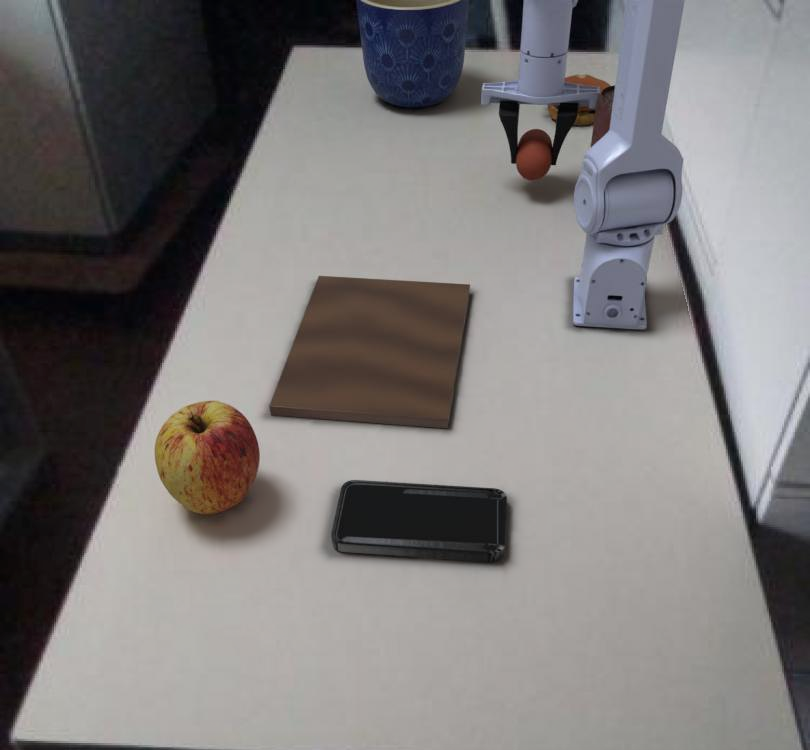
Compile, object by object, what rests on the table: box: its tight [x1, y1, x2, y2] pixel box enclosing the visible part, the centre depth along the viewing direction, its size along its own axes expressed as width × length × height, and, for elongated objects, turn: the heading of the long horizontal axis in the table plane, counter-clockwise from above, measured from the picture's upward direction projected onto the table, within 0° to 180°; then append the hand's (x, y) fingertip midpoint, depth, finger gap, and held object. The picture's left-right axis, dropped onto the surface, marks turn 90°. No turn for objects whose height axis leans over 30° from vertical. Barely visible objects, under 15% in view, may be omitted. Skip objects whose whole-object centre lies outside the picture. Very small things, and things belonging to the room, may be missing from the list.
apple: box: [154, 400, 261, 515], centre depth 75 cm, size 9×9×10 cm
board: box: [268, 275, 471, 429], centre depth 93 cm, size 24×18×1 cm
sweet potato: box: [515, 128, 553, 182], centre depth 113 cm, size 9×5×5 cm, turn 172°
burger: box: [547, 74, 612, 126], centre depth 130 cm, size 10×9×5 cm
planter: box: [355, 0, 470, 109], centre depth 131 cm, size 17×17×15 cm
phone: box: [330, 479, 508, 563], centre depth 75 cm, size 8×1×15 cm
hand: (534, 161), depth 113 cm, fingers closed on sweet potato, 4 cm apart
